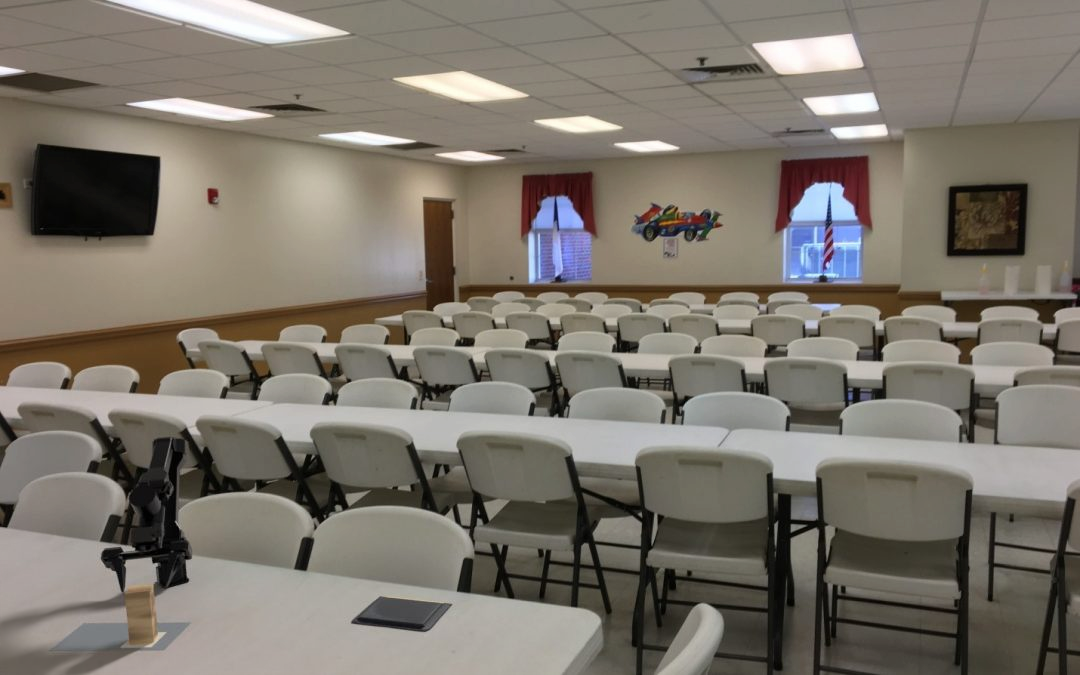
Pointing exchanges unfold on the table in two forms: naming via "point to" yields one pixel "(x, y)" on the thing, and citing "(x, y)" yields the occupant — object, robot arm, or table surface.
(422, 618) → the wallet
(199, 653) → the table surface
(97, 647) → the rubber mat
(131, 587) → the wooden block
